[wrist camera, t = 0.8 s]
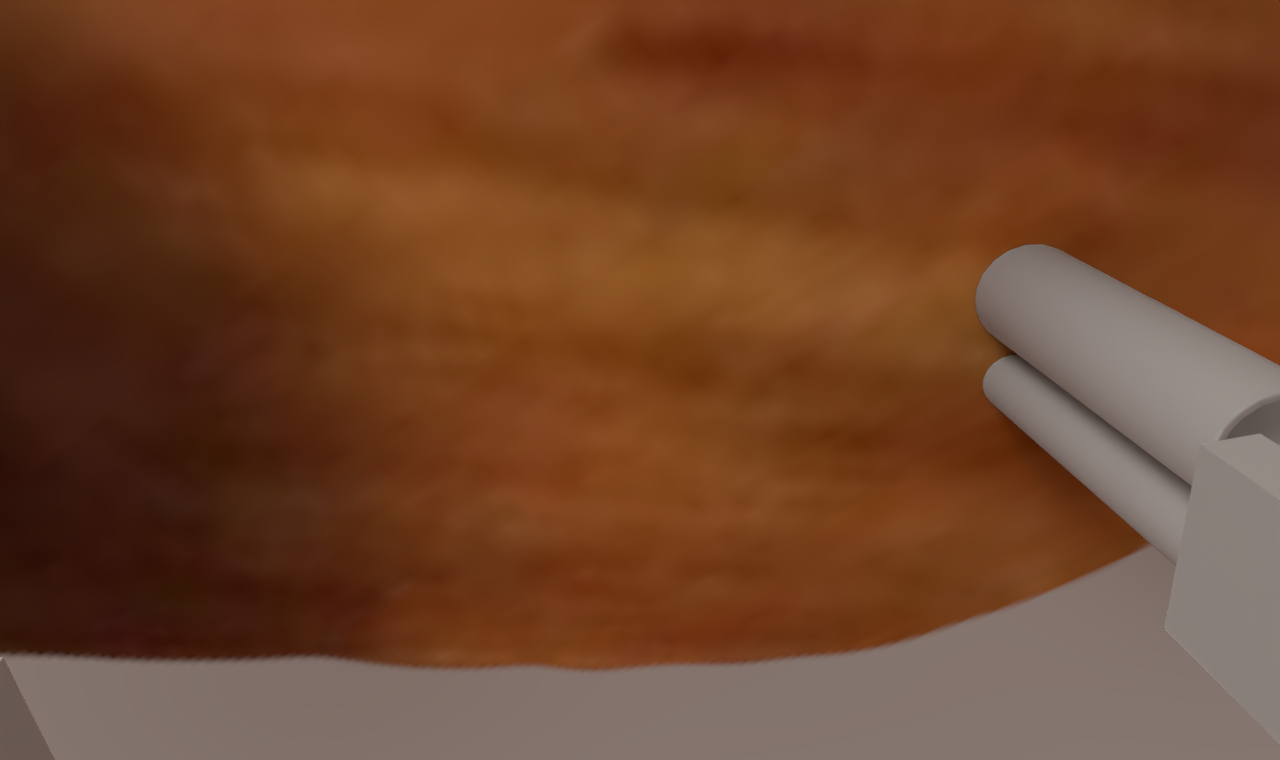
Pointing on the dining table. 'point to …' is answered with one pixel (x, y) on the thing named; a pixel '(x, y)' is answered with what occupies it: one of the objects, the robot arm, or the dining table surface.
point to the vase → (1118, 384)
